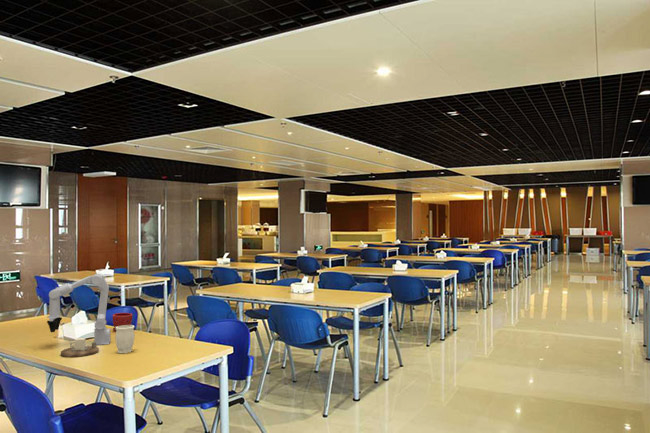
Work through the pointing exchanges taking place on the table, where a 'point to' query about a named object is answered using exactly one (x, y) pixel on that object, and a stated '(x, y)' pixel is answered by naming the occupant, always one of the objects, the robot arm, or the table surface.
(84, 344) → the beige block
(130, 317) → the plant pot
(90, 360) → the table surface
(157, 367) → the table surface
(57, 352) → the table surface
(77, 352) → the turntable
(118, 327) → the jar
